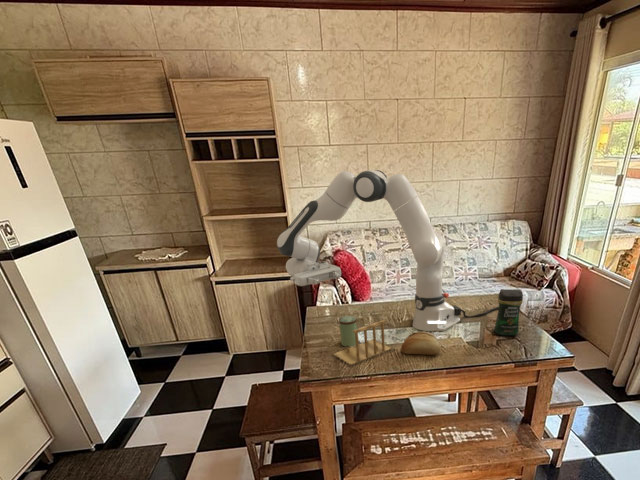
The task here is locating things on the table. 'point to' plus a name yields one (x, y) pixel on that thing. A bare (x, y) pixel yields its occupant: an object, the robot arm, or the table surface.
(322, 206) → the robot arm
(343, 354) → the dish rack
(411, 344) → the bread roll
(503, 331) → the coffee jar
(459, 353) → the table surface
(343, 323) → the tumbler
